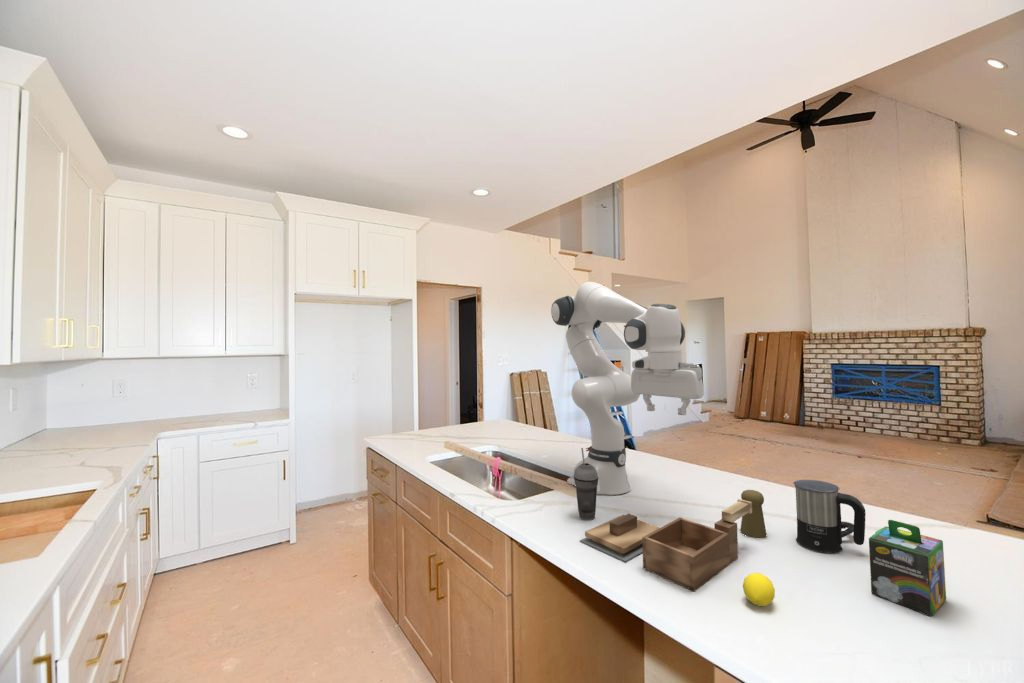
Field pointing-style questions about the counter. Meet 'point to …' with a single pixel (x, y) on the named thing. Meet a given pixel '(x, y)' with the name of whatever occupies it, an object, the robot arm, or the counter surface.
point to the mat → (615, 554)
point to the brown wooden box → (690, 551)
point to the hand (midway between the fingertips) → (666, 412)
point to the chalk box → (907, 567)
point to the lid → (621, 533)
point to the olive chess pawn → (753, 515)
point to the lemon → (759, 589)
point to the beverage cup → (586, 489)
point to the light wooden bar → (737, 510)
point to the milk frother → (825, 516)
